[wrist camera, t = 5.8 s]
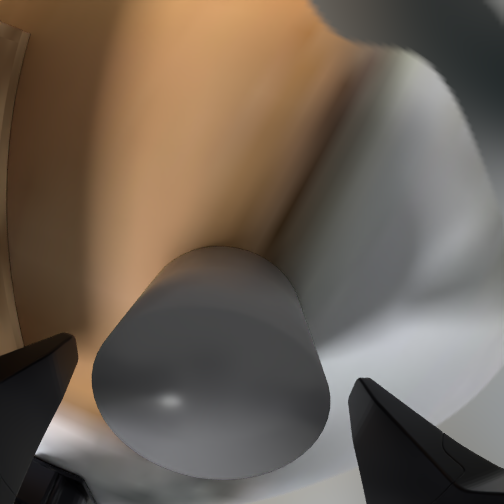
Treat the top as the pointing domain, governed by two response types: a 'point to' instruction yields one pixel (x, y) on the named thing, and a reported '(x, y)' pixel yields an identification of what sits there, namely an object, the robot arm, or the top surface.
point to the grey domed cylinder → (214, 369)
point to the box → (3, 96)
